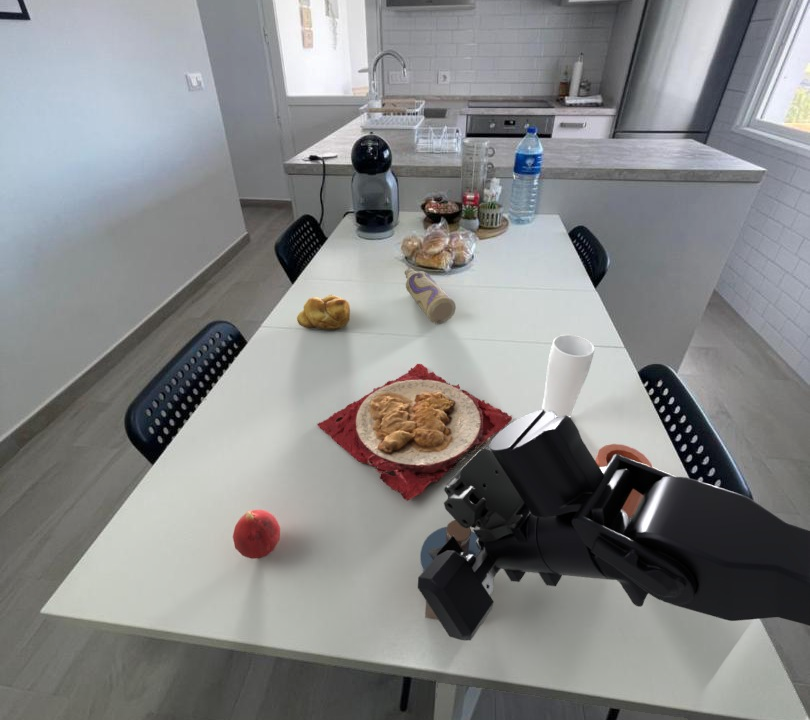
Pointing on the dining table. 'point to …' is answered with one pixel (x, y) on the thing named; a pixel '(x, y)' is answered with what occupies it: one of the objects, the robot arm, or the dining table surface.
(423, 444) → the plate with food
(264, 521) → the onion
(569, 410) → the drinking glass
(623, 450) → the orange cylindrical container
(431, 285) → the decorative bottle
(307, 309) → the bread roll
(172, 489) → the dining table surface
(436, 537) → the lid
